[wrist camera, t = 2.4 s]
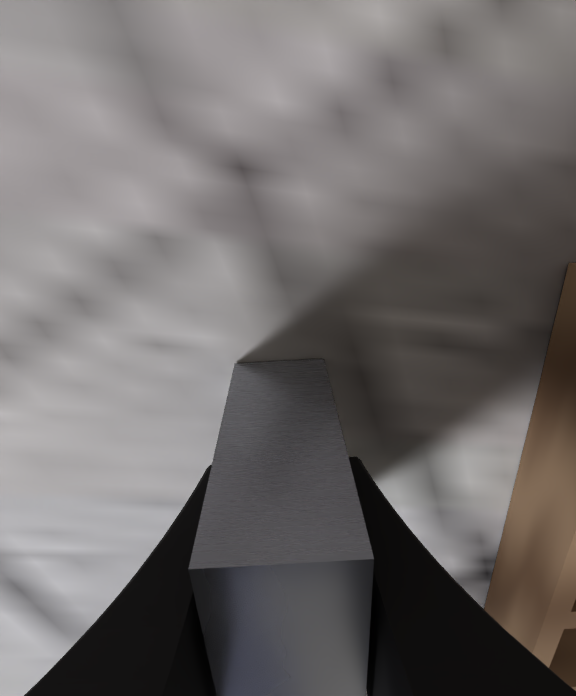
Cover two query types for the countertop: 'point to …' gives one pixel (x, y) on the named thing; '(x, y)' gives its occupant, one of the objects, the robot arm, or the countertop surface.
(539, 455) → the rail
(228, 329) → the countertop surface
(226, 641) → the brushed metal block
